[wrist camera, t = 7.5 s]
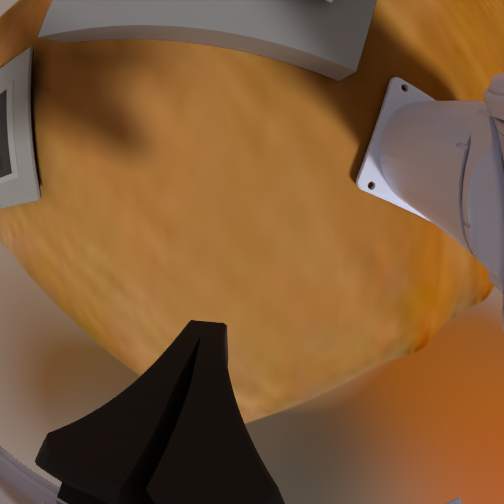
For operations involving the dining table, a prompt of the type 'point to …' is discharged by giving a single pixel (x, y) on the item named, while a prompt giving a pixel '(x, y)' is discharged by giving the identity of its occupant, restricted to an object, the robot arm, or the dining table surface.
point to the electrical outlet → (17, 133)
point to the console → (227, 27)
